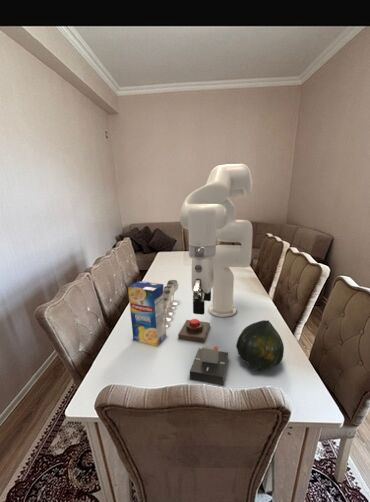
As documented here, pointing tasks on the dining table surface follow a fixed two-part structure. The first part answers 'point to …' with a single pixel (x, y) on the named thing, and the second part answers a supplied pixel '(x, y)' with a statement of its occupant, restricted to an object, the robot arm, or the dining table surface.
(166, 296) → the goblet set
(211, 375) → the control panel
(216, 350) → the brew dial
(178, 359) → the dining table surface
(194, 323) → the power button
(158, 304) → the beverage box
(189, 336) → the switch block
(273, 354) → the squash
